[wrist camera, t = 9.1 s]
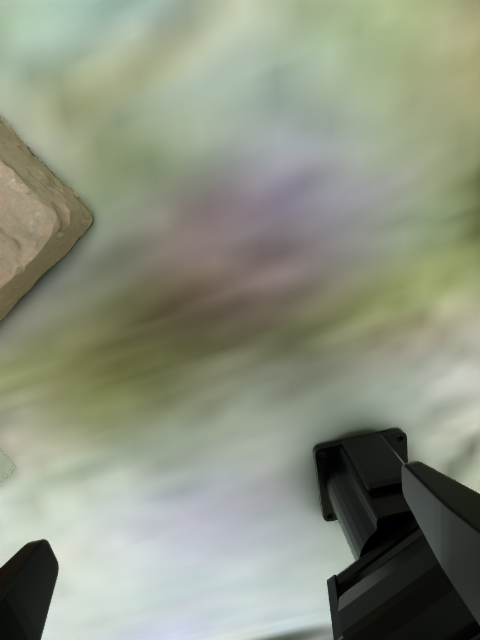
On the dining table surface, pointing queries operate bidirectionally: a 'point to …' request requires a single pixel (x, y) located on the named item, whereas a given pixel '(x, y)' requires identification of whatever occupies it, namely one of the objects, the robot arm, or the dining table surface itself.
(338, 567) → the dining table surface
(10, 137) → the brick
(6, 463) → the grey block
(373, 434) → the robot arm
